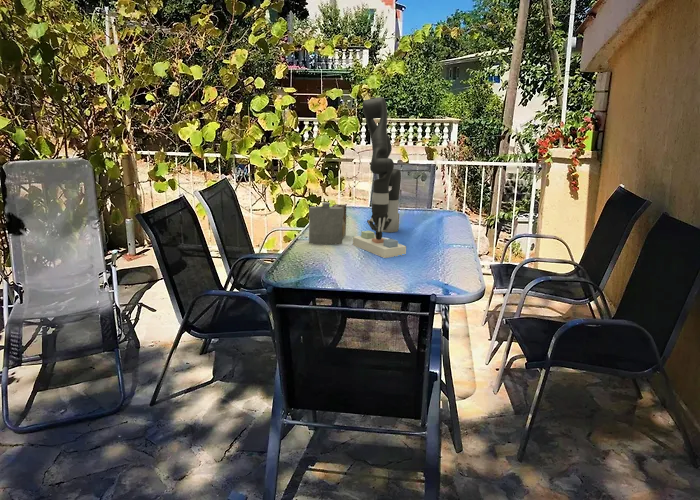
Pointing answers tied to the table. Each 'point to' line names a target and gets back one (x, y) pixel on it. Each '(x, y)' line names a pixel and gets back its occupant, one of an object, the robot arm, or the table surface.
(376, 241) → the key terracotta
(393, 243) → the key slate
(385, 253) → the button panel
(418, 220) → the table surface
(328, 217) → the hip flask
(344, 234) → the coffee box
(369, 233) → the key sage
